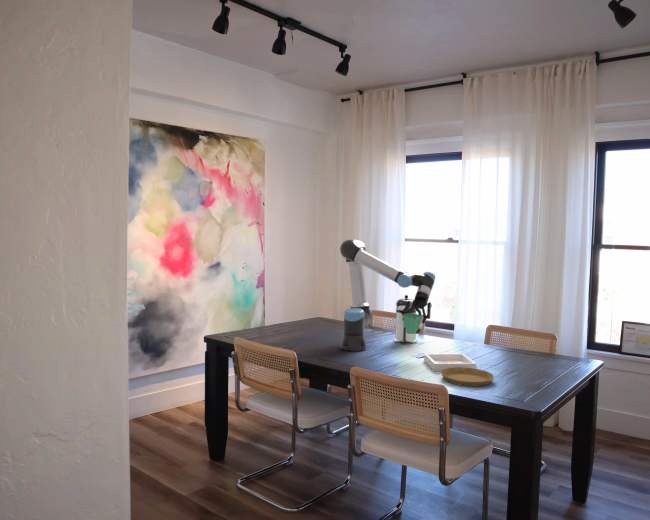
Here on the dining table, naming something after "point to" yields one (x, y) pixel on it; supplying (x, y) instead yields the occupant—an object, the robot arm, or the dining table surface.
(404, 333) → the coffee press
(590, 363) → the dining table surface
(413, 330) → the mug
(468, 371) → the plant saucer
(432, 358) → the tray
